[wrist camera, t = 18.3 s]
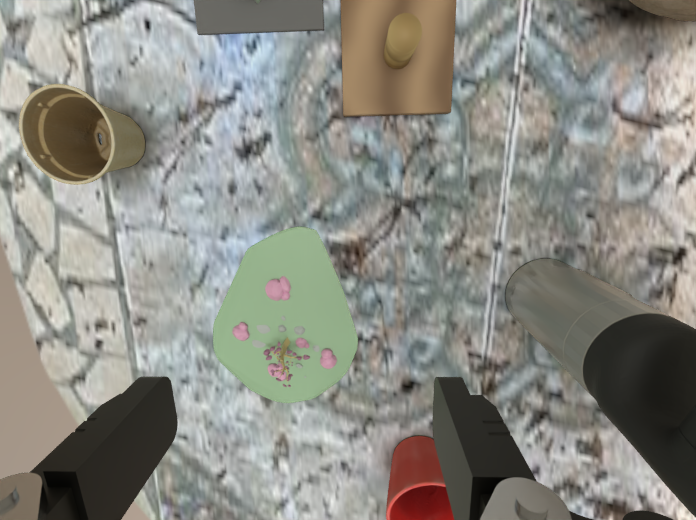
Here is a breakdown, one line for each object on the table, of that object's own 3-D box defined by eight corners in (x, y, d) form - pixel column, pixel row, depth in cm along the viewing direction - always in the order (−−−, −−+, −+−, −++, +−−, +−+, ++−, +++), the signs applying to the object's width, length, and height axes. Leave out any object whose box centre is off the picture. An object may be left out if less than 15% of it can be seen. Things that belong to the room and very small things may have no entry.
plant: (197, 230, 48) (160, 245, 39) (356, 223, 47) (355, 237, 38) (224, 397, 54) (197, 442, 45) (364, 394, 53) (364, 440, 44)
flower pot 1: (137, 86, 43) (83, 68, 34) (173, 165, 45) (130, 166, 37) (68, 115, 44) (-1, 104, 35) (106, 190, 46) (50, 197, 38)
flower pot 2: (441, 492, 56) (457, 558, 47) (373, 474, 56) (375, 537, 47) (466, 438, 54) (488, 496, 44) (395, 418, 53) (402, 473, 44)
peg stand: (453, -7, 39) (477, -51, 31) (447, 113, 42) (468, 102, 34) (341, -2, 40) (336, -45, 31) (343, 116, 43) (340, 106, 35)
